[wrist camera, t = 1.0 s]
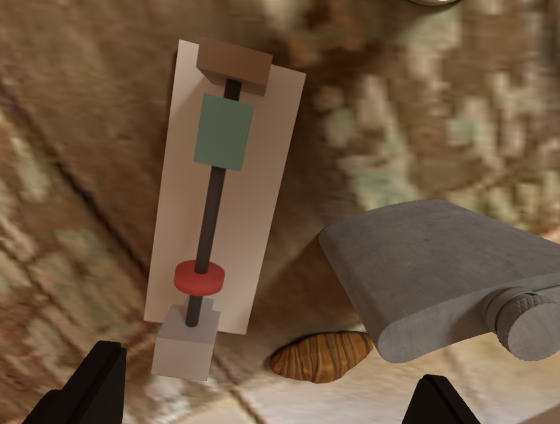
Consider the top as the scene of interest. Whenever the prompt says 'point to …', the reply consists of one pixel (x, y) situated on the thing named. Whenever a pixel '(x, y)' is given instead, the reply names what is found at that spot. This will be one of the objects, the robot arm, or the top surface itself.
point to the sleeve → (222, 132)
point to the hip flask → (446, 279)
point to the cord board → (215, 204)
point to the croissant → (322, 356)
